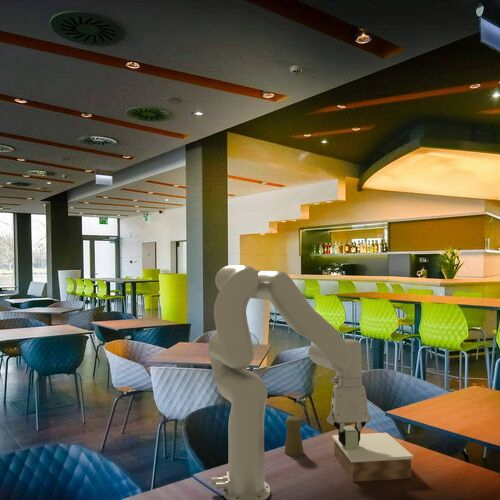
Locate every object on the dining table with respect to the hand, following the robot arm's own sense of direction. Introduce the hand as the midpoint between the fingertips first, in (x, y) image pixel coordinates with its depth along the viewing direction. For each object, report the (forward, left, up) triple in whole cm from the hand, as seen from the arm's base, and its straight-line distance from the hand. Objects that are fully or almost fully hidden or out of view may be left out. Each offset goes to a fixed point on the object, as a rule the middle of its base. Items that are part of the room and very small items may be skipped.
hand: (349, 443), depth 133 cm
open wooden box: (+6, 0, -7) cm, 10 cm away
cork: (-14, +13, -7) cm, 20 cm away
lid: (+6, 0, -2) cm, 7 cm away
